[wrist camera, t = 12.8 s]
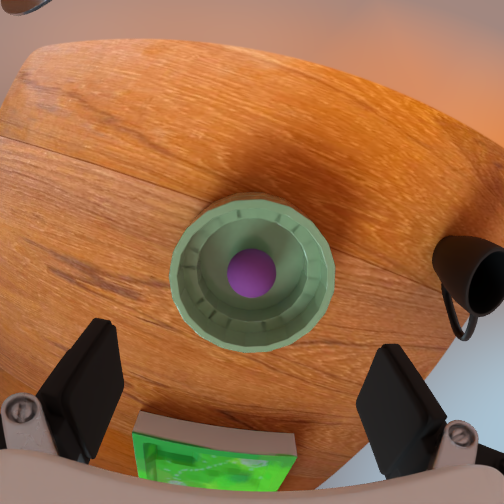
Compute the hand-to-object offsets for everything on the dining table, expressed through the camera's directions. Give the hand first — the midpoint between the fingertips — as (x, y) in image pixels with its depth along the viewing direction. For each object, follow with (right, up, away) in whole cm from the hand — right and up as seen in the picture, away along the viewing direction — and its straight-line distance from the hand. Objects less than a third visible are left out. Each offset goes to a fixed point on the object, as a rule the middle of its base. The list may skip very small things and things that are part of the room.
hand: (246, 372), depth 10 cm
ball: (0, +3, +24) cm, 24 cm away
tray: (-8, -35, +36) cm, 51 cm away
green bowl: (0, +3, +24) cm, 24 cm away
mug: (+26, +2, +25) cm, 36 cm away
